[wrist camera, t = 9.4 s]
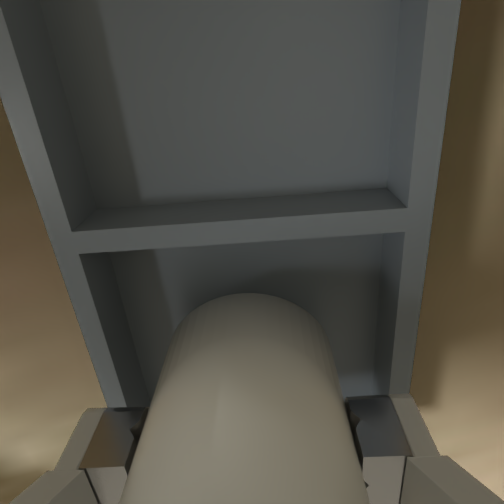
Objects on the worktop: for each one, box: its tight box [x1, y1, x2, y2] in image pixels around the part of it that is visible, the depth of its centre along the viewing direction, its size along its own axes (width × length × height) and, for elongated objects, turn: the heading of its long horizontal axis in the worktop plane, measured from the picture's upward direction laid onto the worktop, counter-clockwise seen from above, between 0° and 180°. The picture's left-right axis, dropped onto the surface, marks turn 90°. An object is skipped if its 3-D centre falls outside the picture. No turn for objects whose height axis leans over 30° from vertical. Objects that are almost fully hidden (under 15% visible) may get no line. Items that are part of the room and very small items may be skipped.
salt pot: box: [119, 293, 370, 504], centre depth 9 cm, size 5×5×6 cm
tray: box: [0, 0, 461, 408], centre depth 10 cm, size 9×18×2 cm, turn 5°
